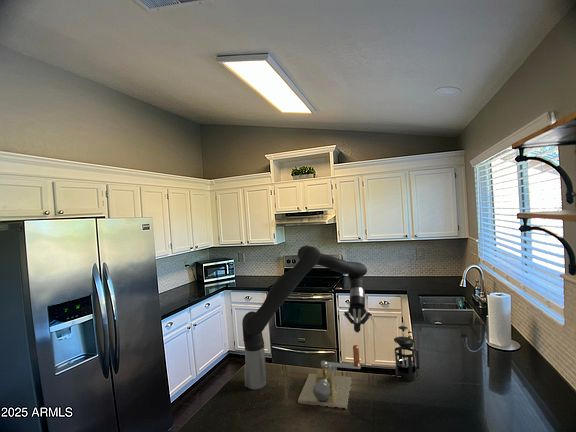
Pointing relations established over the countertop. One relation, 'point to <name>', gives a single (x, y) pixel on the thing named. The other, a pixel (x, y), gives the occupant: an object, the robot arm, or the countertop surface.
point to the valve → (326, 389)
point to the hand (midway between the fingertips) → (357, 331)
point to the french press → (406, 364)
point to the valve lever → (344, 365)
